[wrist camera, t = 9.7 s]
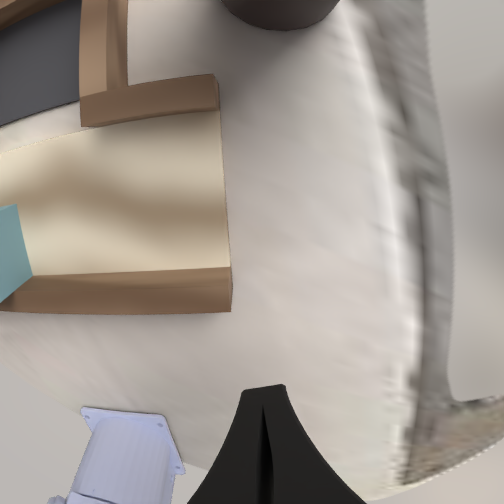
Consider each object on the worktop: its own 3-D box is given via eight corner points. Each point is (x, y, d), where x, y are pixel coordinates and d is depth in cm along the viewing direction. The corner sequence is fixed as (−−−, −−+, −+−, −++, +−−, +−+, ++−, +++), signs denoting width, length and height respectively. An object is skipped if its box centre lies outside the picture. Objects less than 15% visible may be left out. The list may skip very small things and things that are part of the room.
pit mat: (100, 94, 15) (99, 94, 15) (-4, 127, 15) (-6, 127, 15) (103, -15, 13) (102, -16, 12) (-1, 29, 13) (-2, 28, 12)
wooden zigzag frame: (232, 289, 19) (231, 316, 17) (-27, 293, 19) (-47, 310, 17) (212, -51, 12) (208, -77, 9) (-54, 52, 12) (-78, 50, 9)
